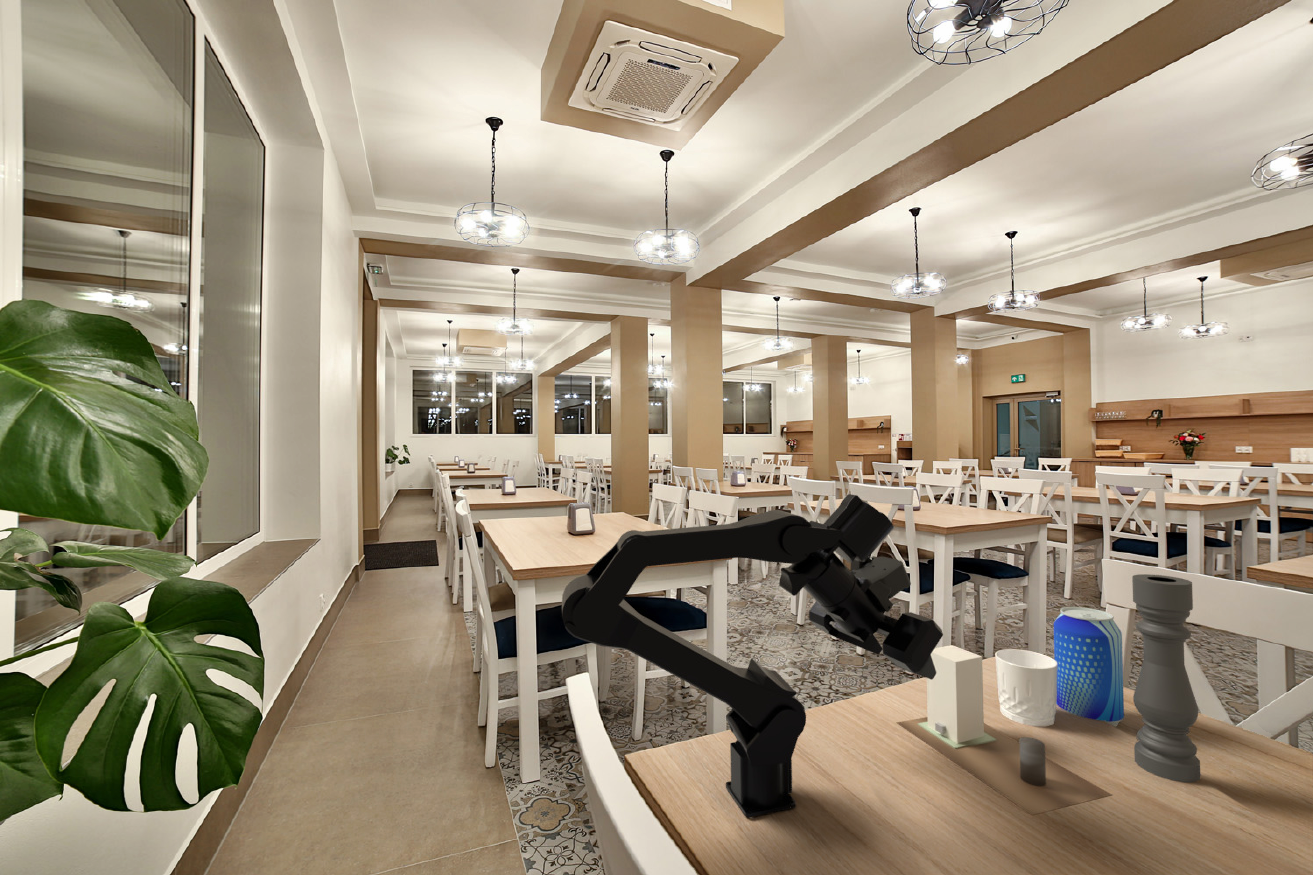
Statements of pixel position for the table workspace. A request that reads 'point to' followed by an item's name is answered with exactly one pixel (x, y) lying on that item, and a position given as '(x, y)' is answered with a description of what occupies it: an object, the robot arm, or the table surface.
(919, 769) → the table surface
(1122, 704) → the beer can
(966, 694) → the tall white prism
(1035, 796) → the board
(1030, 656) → the white cup
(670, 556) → the robot arm
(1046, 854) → the table surface
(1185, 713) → the candle holder
